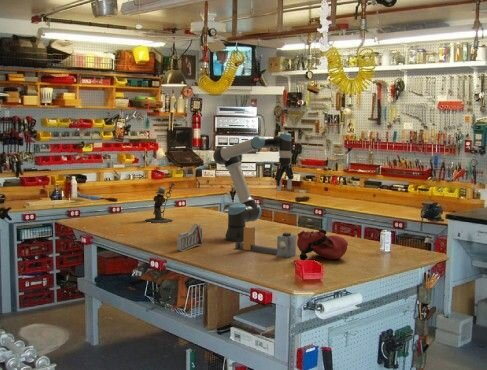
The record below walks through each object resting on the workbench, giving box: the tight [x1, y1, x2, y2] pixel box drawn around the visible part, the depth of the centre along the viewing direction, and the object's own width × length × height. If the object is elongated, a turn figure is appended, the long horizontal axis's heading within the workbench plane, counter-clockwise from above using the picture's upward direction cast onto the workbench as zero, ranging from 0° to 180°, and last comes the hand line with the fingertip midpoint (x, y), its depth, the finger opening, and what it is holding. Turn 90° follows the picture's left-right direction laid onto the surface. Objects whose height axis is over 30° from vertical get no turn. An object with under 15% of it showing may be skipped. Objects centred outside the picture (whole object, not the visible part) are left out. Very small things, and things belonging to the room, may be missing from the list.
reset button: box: [282, 232, 292, 237], centre depth 361 cm, size 3×3×6 cm
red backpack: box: [296, 227, 349, 261], centre depth 355 cm, size 24×20×30 cm
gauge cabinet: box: [276, 233, 297, 259], centre depth 362 cm, size 7×10×12 cm
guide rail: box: [234, 241, 277, 256], centre depth 373 cm, size 31×5×4 cm, turn 56°
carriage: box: [242, 225, 256, 251], centre depth 376 cm, size 5×6×14 cm
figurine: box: [144, 182, 176, 224], centre depth 475 cm, size 23×23×30 cm
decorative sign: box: [176, 223, 204, 252], centre depth 377 cm, size 23×3×15 cm, turn 149°
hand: (284, 190), depth 397 cm, fingers open, 13 cm apart
